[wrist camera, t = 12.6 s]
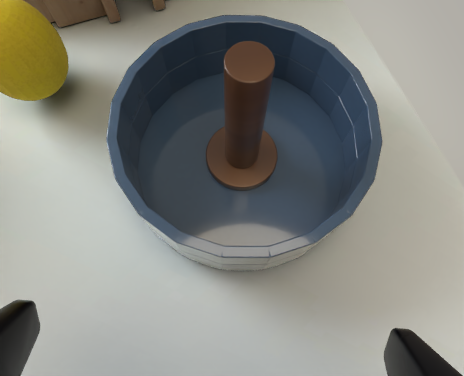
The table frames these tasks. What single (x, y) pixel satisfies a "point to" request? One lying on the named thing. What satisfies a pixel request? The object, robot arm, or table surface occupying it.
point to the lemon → (29, 53)
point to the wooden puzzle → (80, 10)
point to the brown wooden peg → (244, 120)
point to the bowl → (276, 125)
